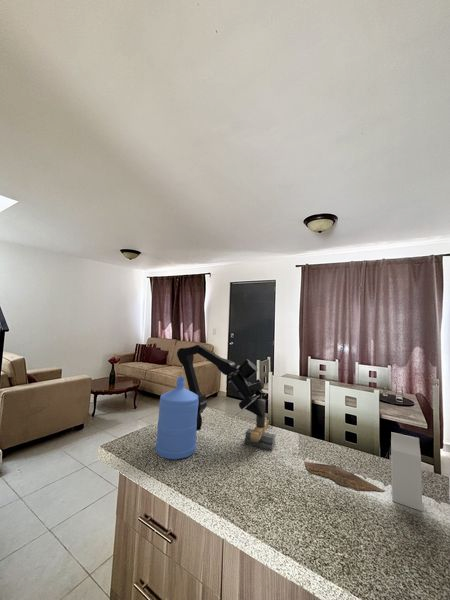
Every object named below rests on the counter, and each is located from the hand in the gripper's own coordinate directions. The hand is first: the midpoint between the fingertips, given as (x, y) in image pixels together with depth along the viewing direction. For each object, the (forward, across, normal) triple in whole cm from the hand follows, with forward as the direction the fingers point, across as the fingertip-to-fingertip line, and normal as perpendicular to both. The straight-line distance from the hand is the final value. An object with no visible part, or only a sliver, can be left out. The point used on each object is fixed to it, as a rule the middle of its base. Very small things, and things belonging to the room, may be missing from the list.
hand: (264, 414), depth 109 cm
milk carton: (+43, -12, -25) cm, 52 cm away
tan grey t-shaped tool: (+5, 0, +7) cm, 8 cm away
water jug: (-12, -23, +30) cm, 39 cm away
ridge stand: (+8, 0, +10) cm, 13 cm away
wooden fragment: (+31, -9, -12) cm, 34 cm away
